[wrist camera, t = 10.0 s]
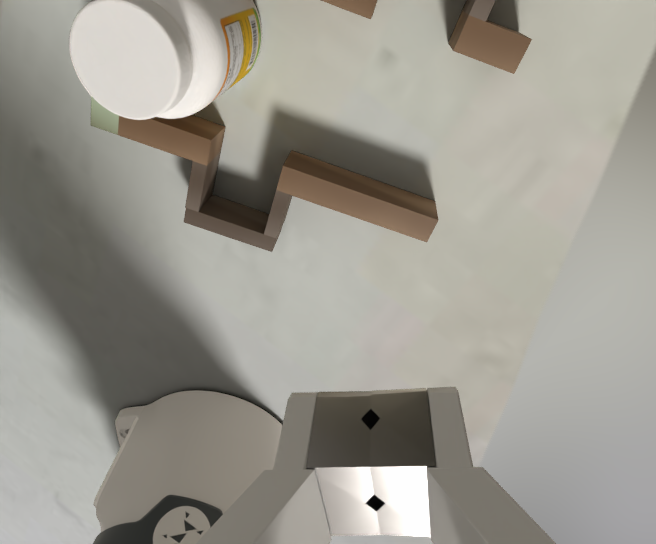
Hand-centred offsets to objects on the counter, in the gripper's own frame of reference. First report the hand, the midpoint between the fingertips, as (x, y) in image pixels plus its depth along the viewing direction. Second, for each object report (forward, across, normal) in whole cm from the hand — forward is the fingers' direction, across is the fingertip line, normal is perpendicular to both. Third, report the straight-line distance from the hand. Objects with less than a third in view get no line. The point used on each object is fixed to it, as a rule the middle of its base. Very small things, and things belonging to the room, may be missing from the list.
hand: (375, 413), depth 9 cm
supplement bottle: (+21, +8, -6) cm, 23 cm away
